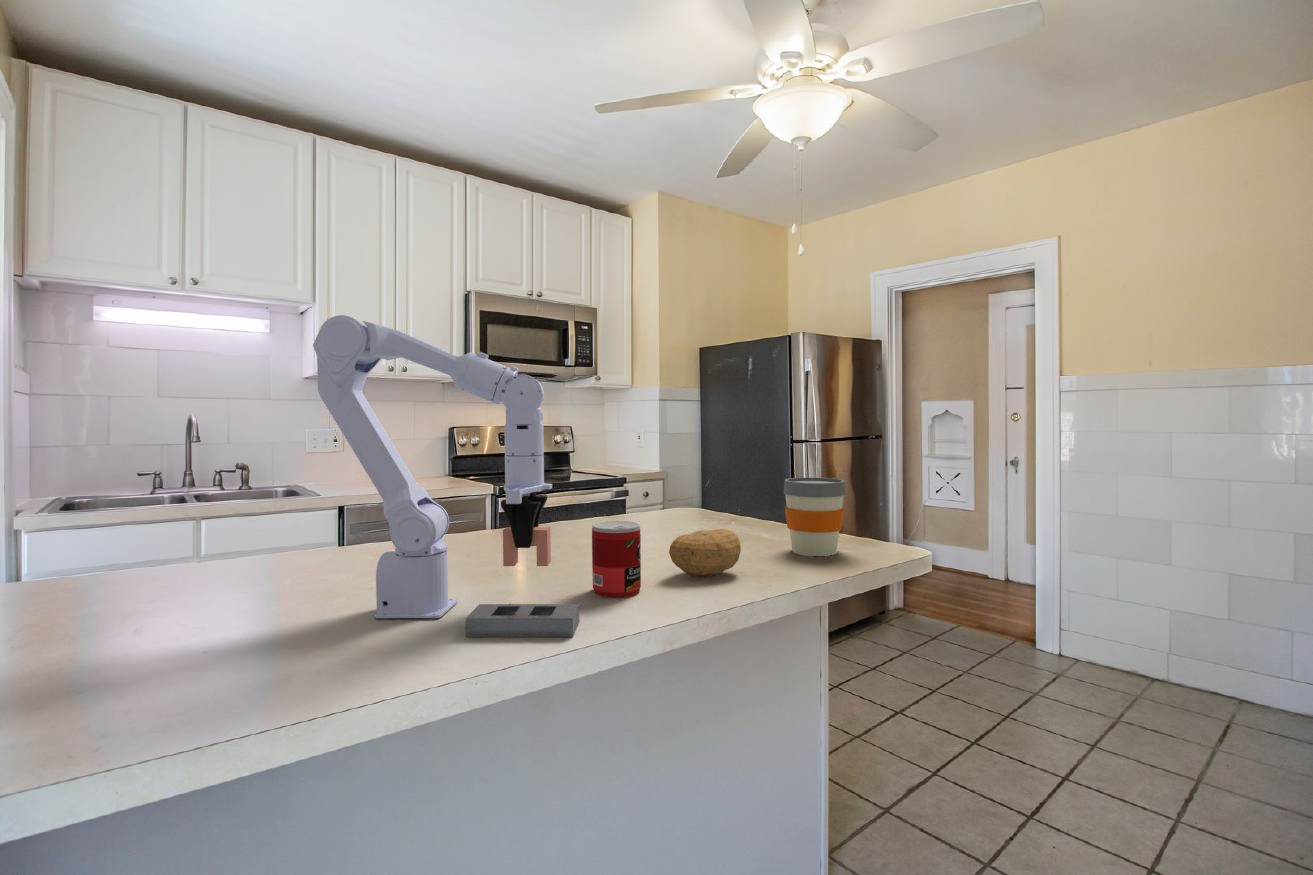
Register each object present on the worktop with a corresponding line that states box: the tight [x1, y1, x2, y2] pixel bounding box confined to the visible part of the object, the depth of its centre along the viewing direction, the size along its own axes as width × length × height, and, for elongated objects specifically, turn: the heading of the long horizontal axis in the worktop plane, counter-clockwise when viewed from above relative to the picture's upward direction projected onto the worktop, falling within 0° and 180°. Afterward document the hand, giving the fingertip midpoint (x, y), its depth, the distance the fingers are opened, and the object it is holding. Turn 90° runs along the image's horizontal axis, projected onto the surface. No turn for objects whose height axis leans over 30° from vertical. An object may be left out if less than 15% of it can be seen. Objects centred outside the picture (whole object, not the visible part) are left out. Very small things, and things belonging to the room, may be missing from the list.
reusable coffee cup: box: [783, 477, 846, 557], centre depth 130 cm, size 13×13×15 cm
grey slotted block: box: [465, 603, 581, 638], centre depth 84 cm, size 14×6×2 cm, turn 89°
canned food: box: [591, 520, 642, 599], centre depth 101 cm, size 8×8×11 cm
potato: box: [668, 528, 742, 578], centre depth 111 cm, size 10×14×8 cm
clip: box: [502, 526, 552, 567], centre depth 94 cm, size 7×3×5 cm, turn 89°
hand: (525, 545), depth 94 cm, fingers closed on clip, 3 cm apart
